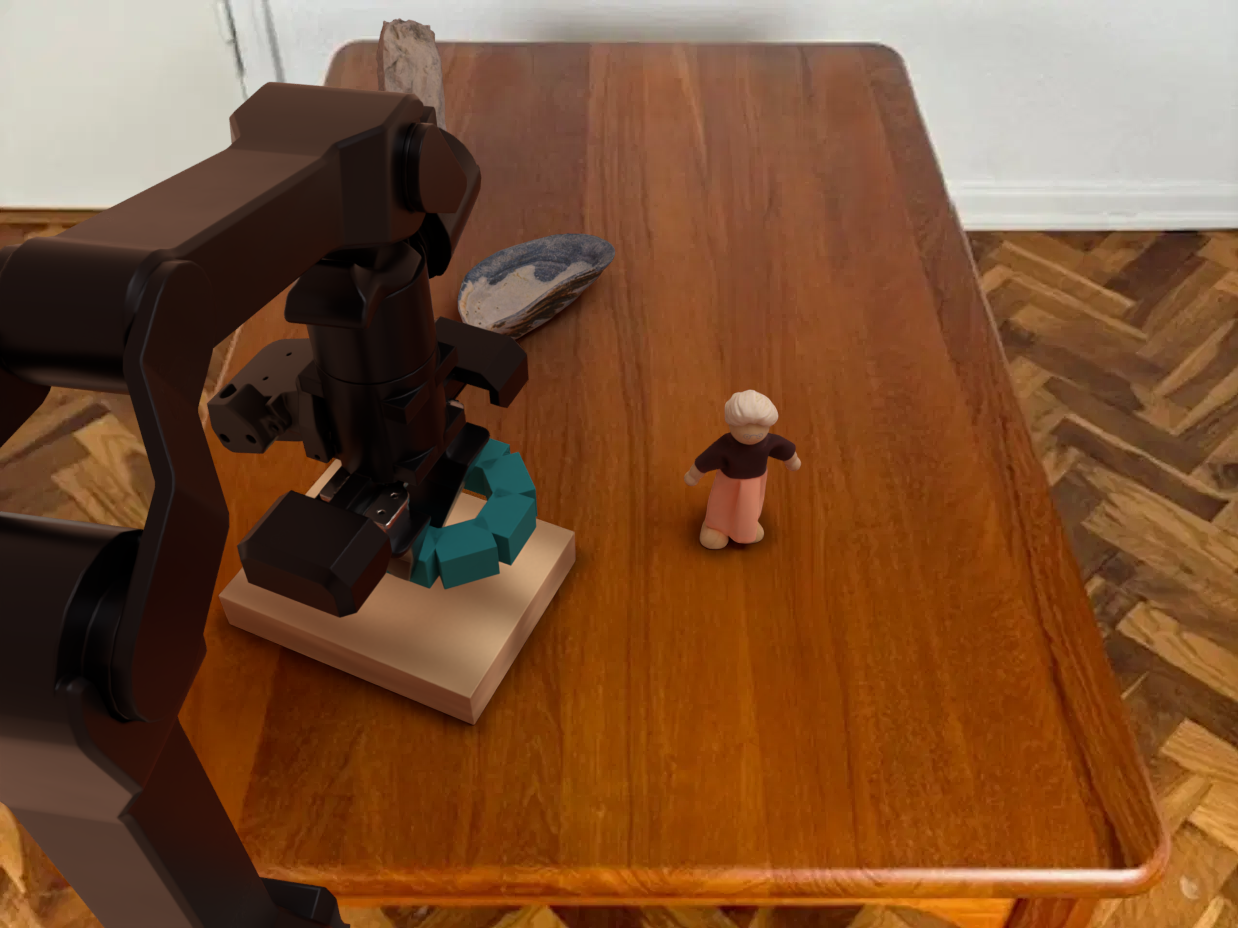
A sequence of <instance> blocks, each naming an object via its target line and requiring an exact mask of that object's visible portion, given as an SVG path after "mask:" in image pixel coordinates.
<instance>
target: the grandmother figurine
mask: <svg viewBox="0 0 1238 928" xmlns="http://www.w3.org/2000/svg"><path fill="white" fill-rule="evenodd" d="M778 419H779V413H778V410H777V408H776V405H774V403H773V402H772V401H771V399H770V398H769V397H768V396H766V395H764V394H763V393H761V392H758V391H756V390H754V389H747V390H744V391H740V392H739V391H738V392H735V393H733V394H732V395H731V397H730V398H729V399H728V400H727V401H726V402H725V404H724V421H725V423H726V424H727V425H728V428H729V432H726V433H724V434H722V435H721V436H720V437H719V438H718V439H716V440H715V441H714V442H712V443H711V445H709V446H708V447H707V448H705V449H704V450H703V451H702V452H701V453H700V454H699V455H698V456H697V457H695V458H694V461H693V463H692V465H691V466H690V468H689V470H688V471H687V472H686V473H685V474H684V476H683V480H684V483H685V484H686V485H687V486H688V487H689V486H690V487H694V486H696V485H698V483H699V482H700V479H703V478H704V476H705V475H706V474H707V473H708V472H712V471H716V472H715V476H714V479H713V483H712V485H711V489H710V492H709V495H708V499H707V506H706V513H705V517H704V521H703V522H702V525H701V529H700V533H699V542H700V544H701V545H702V546H703V547H705V548H707V549H710V550H720V549H723V548H725V547H726V546H727V544H728V543H729V538H730V539H731V540H732V541H734V542H735V543H739V544H755V543H758V542H760V541H762V540H763V538H764V536H765V532H764V528H763V527H762V525H761V523H759V518H760V517H761V515H762V511H763V507H764V506H763V505H764V501H765V495H766V487H767V480H768V479H767V478H768V473H769V471H768V461H769V457H770V458H772V459H775V460H778V461H781V462H783V463H784V466H785V468H786V470H788V471H790V472H796V471H798V470H800V468H801V465H802V462H801V459H800V458H799V457H798V454H797V452H796V451H797V445H796V444H795V442H793V441H791V440H788V439H787V438H786V437H784V436H782V435H780V434H776V433H772V432H769V431H770V428H771V427H772V426H774V425H775V424H776V423H777V422H778Z"/></svg>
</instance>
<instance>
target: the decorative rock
mask: <svg viewBox="0 0 1238 928" xmlns="http://www.w3.org/2000/svg"><path fill="white" fill-rule="evenodd" d="M375 60H376V63H377V67H376V75H377V87H378V90H377V91H388V92H400V93H412V94H415V95H417V96H418V97H419V98H420V100H421V101H422V102H423V106H433V107H434V108H435V111H436V119H437V127H439V128H442V129H443V130H445V131H447V132H448V129H447V124H446V99H445V89H444V76H443V75H444V73H443V65H442V57H441V54H440V49H439V48H438V46H437V44H436V33H435V32H434V30H432V29H431V25H430V24H422V23H421V22H418V21H416V20H413V19H407V20H403V19H402V18H400V17H399V18H395V19H392V20H391V21H390V22H389V21H386V20H383V21H382V26H381V29H380V33H379V39H378V43H377V49H376V54H375Z"/></svg>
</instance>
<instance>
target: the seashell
mask: <svg viewBox="0 0 1238 928" xmlns="http://www.w3.org/2000/svg"><path fill="white" fill-rule="evenodd" d="M615 256H616V249H615V246H614V245H613V244H612V243H611V242H609V240H607V239H604V238H602V237H600V236H597V235H594V234H589V233H588V234H587V233H569V232H567V233H555V234H550V235H546V236H544V237H540V238H536V239H532V240H528V241H525V242H522V243H518V244H514V245H512V246H509V247H506V248H502V249H500V250H498V251H495V252H494V253H493V254H491V255H489V256H487V257H485V258H484V259H482V260H481V261H479V262H478V263H476V264H475V265H474V266H473V267H471V269H470V270H469V271H467V272H466V274H465V275H464V276H463V279H462V281H461V283H460V286H459V292H458V294H457V295H458V296H457V301H456V302H457V311H458V313H459V317H460V318H461V322H462V323H466V324H469V325H472V326H476V327H479V328H483V329H486V330H490V331H493V332H496V333H500V334H503V335H507V336H510V337H512V338H513V339H514V340H515V341H517V340H518V339H519V338H522V337H523V336H524V335H526V334H527V333H530V332H531V331H533V330H535V329H536V328H539V327H540V326H542V325H544V324H545V323H547V322H549V321H550V320H551V319H553V318H554V317H555V316H556V315H558V314H559V313H560V312H561V311H563V310H564V309H565V308H567V307H568V306H569V305H571V304H572V303H573V302H574V301H575V300H577V299H578V298H579V297H580V296H581V294H583V292H584V291H585V290H586V289H588V288H589V287H591V285H592V284H593V283H595V281H596V280H598V278H599V277H600V276H602V274H603V272H604V271H605V270H606V268H608V266H609V265H610V264H611V263H612V262H613V260H614V258H615Z"/></svg>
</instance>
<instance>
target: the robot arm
mask: <svg viewBox="0 0 1238 928" xmlns="http://www.w3.org/2000/svg"><path fill="white" fill-rule="evenodd" d="M228 123H229V131H230V133H229V134H230V143H231V144H230V145H229V146H228V147H226V148H225V149H223V150H221V151H219V152H217V153H215V154H213V155H211V156H209V157H208V158H205V159H204V160H202V161H199V162H197V163H195V164H193V165H191V166H190V167H188V168H186V169H183V170H182V171H180V172H178V173H176V174H174V175H171V176H170V177H168V178H165V179H164V180H162V181H160V182H158V183H156V184H154V185H152V186H150V187H148V188H146V189H144V190H143V191H140V192H138V193H136V194H134V195H131V196H130V197H128V198H126V199H124V200H123V201H120V202H118V203H117V204H114V205H113V206H111V207H108V208H107V209H104V210H103V211H100V212H99V213H97V214H95V215H93V216H91V217H89V218H87V219H84V220H83V221H81V222H79V223H77V224H75V225H73V226H71V227H69V228H67V229H65V230H63V231H61V232H60V233H57V234H55V235H51V236H34V237H31V238H27V239H26V240H25V241H23V242H22V243H16V244H9V245H4V246H3V247H2V248H1V249H0V449H1V448H3V446H4V445H5V444H6V443H7V442H8V441H9V440H10V439H11V437H13V436H14V434H16V432H18V430H19V429H21V427H22V426H23V425H24V424H25V423H26V422H27V421H28V420H29V419H30V417H32V416H33V414H34V413H35V412H36V411H37V410H38V409H40V407H41V406H42V405H43V404H44V402H45V401H46V399H47V398H48V395H49V394H50V392H51V389H52V388H53V387H54V388H60V389H61V388H63V389H70V390H71V389H72V390H79V391H89V392H98V393H106V394H107V393H108V394H113V395H123V396H129V397H130V401H131V404H132V408H133V411H134V414H135V418H136V421H137V425H138V428H139V432H140V435H141V439H142V442H143V446H144V450H145V453H146V456H147V460H148V464H149V466H150V470H151V475H152V476H153V481H154V489H153V491H152V496H151V500H150V505H149V507H148V512H147V515H146V519H145V522H144V527H143V528H136V527H129V526H122V525H114V524H107V523H106V524H105V523H104V524H103V523H97V522H90V521H80V520H73V519H65V518H58V517H57V518H56V517H48V516H40V515H35V514H34V515H33V514H27V513H26V514H25V513H18V512H17V513H16V512H9V511H0V803H1V804H3V805H4V806H6V807H7V808H8V809H9V810H10V812H11V813H12V814H13V815H14V817H15V818H16V819H17V821H18V822H19V823H20V824H21V826H22V827H23V828H24V829H25V831H26V832H27V833H28V835H30V837H31V838H32V839H33V841H34V842H35V843H36V845H38V847H39V848H40V850H41V851H42V852H43V853H44V854H45V855H46V857H47V858H48V860H49V861H50V862H51V863H52V864H53V866H54V867H55V868H56V869H57V870H58V872H59V873H60V874H61V876H62V877H63V878H64V879H65V880H66V882H67V884H69V886H70V887H71V888H72V889H73V890H74V892H75V893H76V894H77V896H78V897H79V898H80V899H81V901H82V902H83V903H84V904H85V906H86V907H87V908H88V910H89V911H90V912H91V913H92V914H93V916H94V917H95V918H96V919H97V920H98V922H99V923H100V925H102V927H103V928H351V923H345V922H344V920H343V919H342V917H341V913H340V908H339V903H338V899H337V897H336V896H335V895H334V894H333V893H332V892H331V891H330V890H329V889H328V888H327V887H326V886H323V885H322V886H321V885H316V884H308V883H303V882H296V881H289V880H283V879H277V878H272V877H271V878H270V877H265V876H260V875H259V872H258V871H257V869H256V867H255V865H254V863H253V860H252V859H251V857H250V855H249V853H248V852H247V850H246V848H245V846H244V844H243V841H242V840H241V838H240V836H239V834H238V832H237V830H236V828H235V827H234V824H233V822H232V821H231V819H230V817H229V815H228V813H227V811H226V809H225V807H224V805H223V802H222V801H221V799H220V797H219V795H218V793H217V792H216V789H215V787H214V786H213V784H212V782H211V780H210V778H209V776H208V774H207V772H206V770H205V768H204V767H203V764H202V762H201V761H200V759H199V756H198V755H197V753H196V751H195V749H194V747H193V745H192V743H191V741H190V739H189V737H188V736H187V733H186V731H185V730H184V728H183V726H182V724H181V722H180V719H179V714H180V712H181V710H182V708H183V706H184V704H185V701H186V700H187V697H188V695H189V692H190V690H191V688H192V686H193V684H194V681H195V680H196V678H197V675H198V673H199V671H200V669H201V667H202V664H203V662H204V661H205V658H206V656H207V653H208V647H207V641H206V638H205V635H204V634H205V633H204V632H205V628H206V624H207V620H208V616H209V613H210V609H211V604H212V600H213V596H214V592H215V588H216V584H217V580H218V576H219V572H220V567H221V563H222V560H223V556H224V552H225V547H226V543H227V538H228V535H229V532H230V511H229V508H228V505H227V504H228V503H227V501H226V498H225V495H224V492H223V488H222V485H221V481H220V478H219V476H218V475H219V474H218V472H217V469H216V465H215V462H214V459H213V456H212V453H211V450H210V446H209V443H208V439H207V436H206V433H205V429H204V425H203V423H202V420H201V417H200V414H199V407H200V402H201V399H202V396H203V391H204V388H205V384H206V379H207V377H208V372H209V368H210V364H211V360H212V357H213V353H214V349H215V348H216V347H217V346H218V345H219V344H221V343H222V342H223V341H224V340H226V339H227V338H228V337H229V336H230V335H232V334H233V333H234V332H235V331H237V329H239V328H240V327H241V326H242V325H244V324H245V323H246V322H247V321H249V320H250V319H251V318H252V317H254V316H255V315H256V314H257V313H258V312H260V310H262V309H263V308H265V306H267V305H268V304H269V303H270V302H271V301H273V300H274V299H276V297H278V296H279V295H280V294H281V293H282V292H283V291H285V290H286V289H287V288H288V287H289V286H291V287H290V289H288V292H287V294H286V297H285V302H284V308H283V318H284V320H285V321H286V322H287V323H289V324H297V325H305V326H306V330H307V334H308V338H307V337H305V338H303V337H301V338H280V339H277V340H274V341H272V342H270V343H268V344H266V345H265V346H264V347H263V348H261V349H260V350H259V351H258V352H257V353H256V354H255V355H254V356H253V357H252V358H251V359H250V360H249V361H248V362H247V363H246V364H245V365H244V366H243V367H242V368H241V369H240V370H239V371H238V372H237V373H236V374H235V375H234V376H233V377H232V378H231V379H230V380H229V381H228V382H227V383H225V384H224V386H222V388H221V389H220V390H219V391H217V392H216V393H215V395H214V396H213V397H211V399H209V400H208V402H207V403H206V407H207V412H208V416H209V417H208V418H209V422H210V426H211V429H212V431H213V432H214V434H215V436H216V437H217V438H218V440H219V441H220V443H221V445H222V446H223V448H225V449H227V450H228V451H230V452H231V453H235V454H256V455H257V454H258V455H259V454H260V455H263V454H264V453H266V452H267V451H268V450H269V449H270V448H271V446H272V445H273V444H274V443H275V442H293V443H297V442H299V443H301V442H302V445H303V449H304V452H305V457H306V458H308V459H311V460H314V461H318V462H320V463H323V464H329V463H330V461H332V460H333V459H334V460H335V459H338V460H340V461H341V467H340V468H339V469H338V470H337V471H336V473H335V474H334V475H333V476H332V477H331V479H330V480H329V481H328V482H327V483H326V485H325V486H324V487H323V488H322V489H321V491H320V492H319V494H318V495H317V496H316V497H315V498H312V497H310V496H307V495H305V494H304V493H301V492H298V491H295V490H292V489H290V490H289V491H287V492H285V493H283V494H282V495H280V496H278V497H277V498H276V500H275V501H274V502H273V503H272V504H271V506H269V508H268V509H267V510H266V511H265V512H264V514H262V515H261V517H260V518H259V520H257V522H255V524H254V525H253V526H252V528H250V530H249V531H248V532H247V533H245V535H244V537H243V538H242V539H241V540H240V541H239V543H237V545H236V548H237V552H238V556H239V560H240V563H241V566H242V567H243V569H244V572H245V575H246V578H247V581H248V583H250V584H253V585H255V586H258V587H261V588H263V589H266V590H268V591H271V592H274V593H276V594H279V595H281V596H284V597H287V598H289V599H292V600H294V601H297V602H300V603H302V604H305V605H307V606H310V607H313V608H315V609H318V610H320V611H323V612H326V613H328V614H331V615H333V616H336V617H339V618H341V617H345V616H348V615H352V614H355V613H357V612H358V611H359V609H360V608H361V607H362V605H363V604H364V603H365V601H366V600H367V598H368V597H369V596H370V594H371V593H372V592H373V590H374V589H375V588H376V586H377V585H378V584H379V582H380V581H381V579H382V578H383V577H384V575H385V574H386V572H387V570H388V571H389V572H390V573H391V574H392V575H393V576H395V577H397V578H400V579H403V580H406V581H409V580H410V579H411V578H412V576H413V574H414V571H415V568H416V566H417V563H418V560H419V556H420V553H421V550H422V546H423V543H424V540H425V536H426V534H427V531H428V527H429V526H432V527H435V528H442V527H445V525H446V523H447V520H448V518H449V516H450V514H451V512H452V510H453V508H454V506H455V504H456V502H457V500H458V498H459V496H460V494H461V492H463V490H464V489H463V488H464V486H465V484H466V482H467V480H468V478H469V476H470V474H471V472H472V470H473V468H474V466H475V464H476V462H477V461H478V459H479V457H480V455H481V453H482V451H483V449H484V447H485V446H486V444H487V443H488V441H489V438H491V434H490V431H489V430H488V428H486V427H484V426H481V425H478V424H475V423H472V422H469V421H467V416H466V413H465V405H464V403H463V402H460V400H459V399H457V398H458V397H459V395H460V394H461V393H462V392H463V390H465V388H466V387H467V386H472V387H475V388H479V389H482V390H486V391H488V397H489V404H491V405H493V406H496V407H500V408H505V409H508V408H509V407H510V406H511V404H512V403H513V401H514V400H515V399H516V397H517V396H518V395H519V394H520V392H521V390H523V388H524V387H525V385H526V384H527V383H528V381H529V379H530V378H529V377H530V376H529V375H530V374H529V363H528V361H529V360H528V353H527V352H526V351H525V349H524V348H523V347H522V346H521V345H520V344H519V342H517V340H514V339H513V338H512V337H510V336H507V335H503V334H500V333H496V332H493V331H490V330H486V329H483V328H479V327H476V326H472V325H469V324H466V323H463V322H462V321H458V320H455V319H451V318H448V317H445V316H442V315H441V316H439V317H437V318H435V314H434V313H435V312H434V304H433V299H432V292H431V291H432V290H431V284H430V280H431V279H434V278H436V277H442V276H443V275H444V274H445V273H446V271H447V270H448V268H449V265H450V263H451V261H452V259H453V256H454V254H455V252H456V249H457V246H458V244H459V242H460V240H461V237H462V235H463V232H464V230H465V228H466V226H467V223H468V222H469V221H468V220H469V218H470V217H471V214H472V211H473V208H474V207H475V204H476V202H477V199H478V196H479V194H480V192H481V187H482V173H481V167H480V166H479V165H478V164H477V162H476V160H475V158H474V155H473V154H472V152H470V150H469V149H468V148H467V146H466V145H465V144H464V143H463V142H462V141H461V140H459V139H458V138H457V137H456V136H455V135H453V134H452V133H450V132H448V130H447V131H445V130H443V129H442V128H439V127H437V119H436V111H435V108H434V107H433V106H423V102H422V101H421V100H420V98H419V97H418V96H417V95H415V94H412V93H400V92H388V91H379V90H376V89H364V88H363V89H362V88H351V87H339V86H327V85H318V84H317V85H315V84H303V83H295V82H294V83H293V82H292V83H291V82H282V81H281V82H280V81H267V82H266V83H264V84H263V85H262V86H260V87H259V88H258V89H257V90H256V91H255V92H254V93H253V94H252V95H251V96H249V98H247V99H246V100H245V101H244V102H243V103H242V104H240V105H239V106H238V107H237V108H236V109H235V110H234V111H233V112H232V113H231V114H230V116H228Z"/></svg>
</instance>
